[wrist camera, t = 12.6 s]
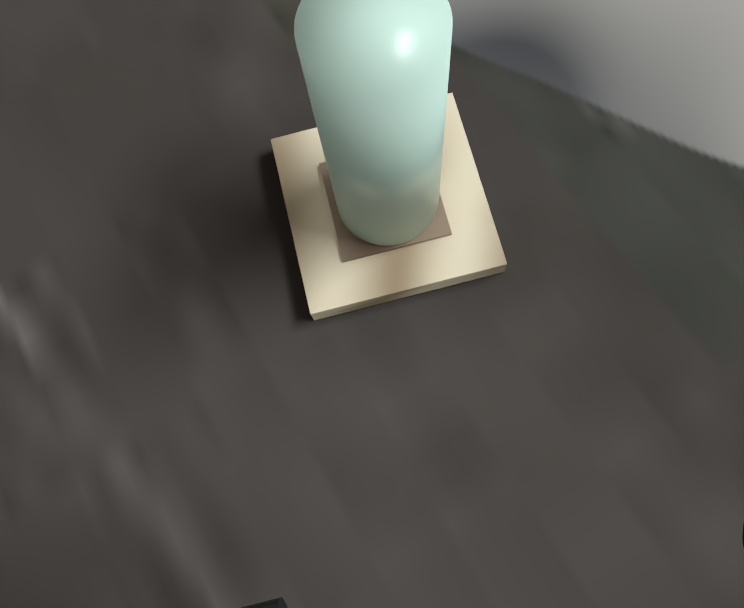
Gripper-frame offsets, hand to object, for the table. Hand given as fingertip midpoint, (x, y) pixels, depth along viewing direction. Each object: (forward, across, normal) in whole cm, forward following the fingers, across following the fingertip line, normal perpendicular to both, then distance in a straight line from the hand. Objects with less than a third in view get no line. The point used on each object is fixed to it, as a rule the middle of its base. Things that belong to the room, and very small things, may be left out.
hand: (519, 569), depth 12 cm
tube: (+25, -1, +3) cm, 25 cm away
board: (+26, -1, +4) cm, 26 cm away
